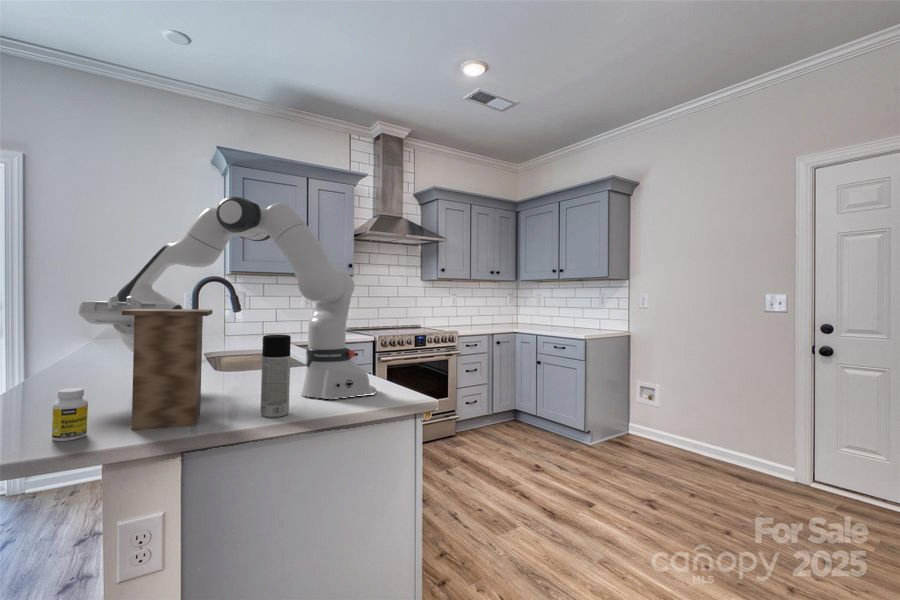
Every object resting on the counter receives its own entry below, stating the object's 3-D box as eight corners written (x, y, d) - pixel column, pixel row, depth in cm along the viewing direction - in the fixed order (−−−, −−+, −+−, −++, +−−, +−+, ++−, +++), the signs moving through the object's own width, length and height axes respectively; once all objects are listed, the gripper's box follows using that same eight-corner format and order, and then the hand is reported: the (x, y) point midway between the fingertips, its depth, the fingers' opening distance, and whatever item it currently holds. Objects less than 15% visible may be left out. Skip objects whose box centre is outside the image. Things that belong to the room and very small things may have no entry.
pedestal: (209, 413, 109) (212, 309, 109) (204, 425, 99) (207, 311, 99) (133, 418, 103) (135, 308, 103) (119, 432, 93) (121, 310, 93)
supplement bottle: (57, 443, 85) (58, 393, 85) (47, 438, 88) (48, 390, 88) (91, 436, 90) (92, 389, 90) (81, 431, 93) (82, 385, 93)
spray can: (293, 411, 113) (295, 334, 113) (280, 419, 106) (283, 337, 106) (269, 410, 114) (271, 333, 113) (254, 417, 107) (257, 336, 107)
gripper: (90, 311, 121) (73, 286, 110) (175, 313, 129) (168, 290, 118) (85, 332, 118) (67, 308, 107) (173, 332, 126) (165, 310, 115)
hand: (121, 298), depth 113 cm, fingers open, 2 cm apart
